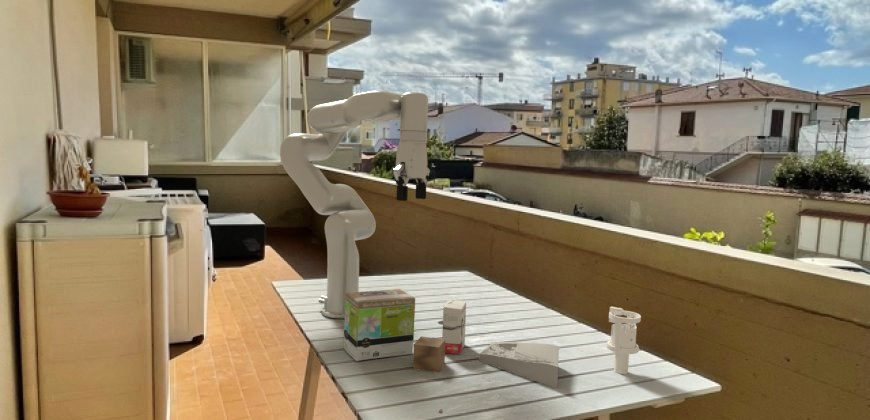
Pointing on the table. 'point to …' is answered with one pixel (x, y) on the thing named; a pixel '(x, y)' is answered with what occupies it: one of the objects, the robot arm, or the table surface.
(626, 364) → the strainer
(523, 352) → the ramp
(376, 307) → the tea box
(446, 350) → the ink box
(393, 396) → the table surface
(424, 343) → the walnut block
